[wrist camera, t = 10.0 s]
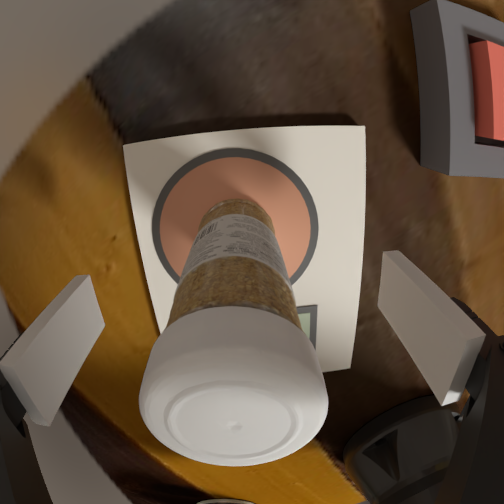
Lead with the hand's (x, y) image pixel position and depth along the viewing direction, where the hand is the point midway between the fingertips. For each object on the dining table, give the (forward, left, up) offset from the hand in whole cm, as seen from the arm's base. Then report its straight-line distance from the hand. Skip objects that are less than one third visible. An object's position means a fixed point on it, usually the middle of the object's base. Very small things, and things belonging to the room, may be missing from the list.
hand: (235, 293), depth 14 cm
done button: (+9, -18, -5) cm, 21 cm away
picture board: (-3, -1, -7) cm, 8 cm away
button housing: (+9, -18, -7) cm, 22 cm away
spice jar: (0, 0, -6) cm, 6 cm away
